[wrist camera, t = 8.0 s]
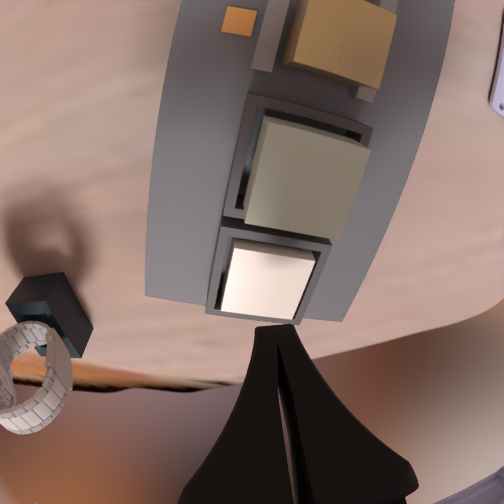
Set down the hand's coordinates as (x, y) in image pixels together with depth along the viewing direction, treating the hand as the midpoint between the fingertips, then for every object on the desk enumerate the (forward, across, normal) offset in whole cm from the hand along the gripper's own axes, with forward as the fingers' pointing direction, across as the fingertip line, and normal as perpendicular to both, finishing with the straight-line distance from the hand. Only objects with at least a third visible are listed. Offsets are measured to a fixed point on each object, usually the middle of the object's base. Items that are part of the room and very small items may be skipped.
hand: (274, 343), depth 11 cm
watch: (+8, +16, +4) cm, 18 cm away
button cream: (+5, 0, 0) cm, 5 cm away
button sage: (+4, -1, -5) cm, 7 cm away
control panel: (+8, -2, -8) cm, 11 cm away
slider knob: (+5, -3, -11) cm, 12 cm away
